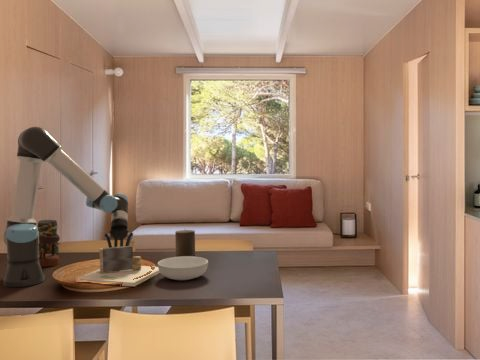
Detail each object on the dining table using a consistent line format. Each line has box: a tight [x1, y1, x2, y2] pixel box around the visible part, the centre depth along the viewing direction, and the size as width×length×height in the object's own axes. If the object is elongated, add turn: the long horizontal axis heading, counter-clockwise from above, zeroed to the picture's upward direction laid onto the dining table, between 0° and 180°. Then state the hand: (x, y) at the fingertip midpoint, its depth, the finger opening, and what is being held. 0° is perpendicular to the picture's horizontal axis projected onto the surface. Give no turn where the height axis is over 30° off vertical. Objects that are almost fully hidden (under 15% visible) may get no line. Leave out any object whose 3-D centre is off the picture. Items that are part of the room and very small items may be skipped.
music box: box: [38, 223, 61, 268], centre depth 219 cm, size 15×11×20 cm
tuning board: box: [75, 265, 161, 287], centre depth 193 cm, size 26×27×2 cm
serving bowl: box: [157, 256, 209, 281], centre depth 189 cm, size 21×21×7 cm
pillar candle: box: [175, 229, 196, 257], centre depth 226 cm, size 10×10×15 cm
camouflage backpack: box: [37, 219, 59, 255], centre depth 243 cm, size 10×8×19 cm
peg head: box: [98, 245, 142, 273], centre depth 196 cm, size 17×4×10 cm, turn 111°
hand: (118, 266), depth 197 cm, fingers closed
